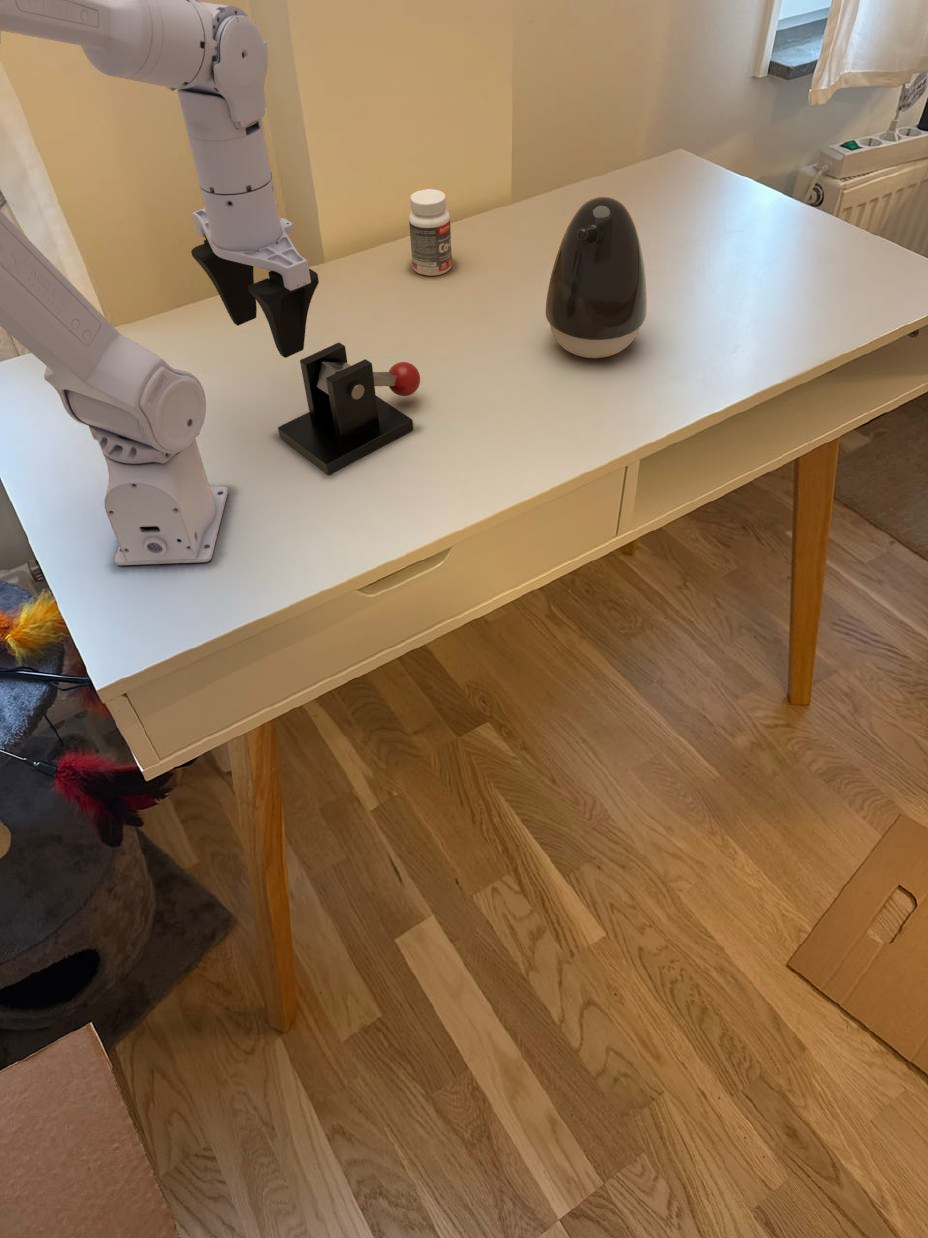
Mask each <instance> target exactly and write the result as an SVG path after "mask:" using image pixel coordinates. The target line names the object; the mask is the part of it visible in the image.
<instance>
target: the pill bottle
mask: <svg viewBox="0 0 928 1238" xmlns="http://www.w3.org/2000/svg"><path fill="white" fill-rule="evenodd" d="M446 197H447V196H446V194H445V193H444V192H443V191H441V190H438V189H433V188H429V189H428V188H426V189H421V190H417V191H414V192H413V193H412V194H411V195H410V197H409V203H410V205H409V206H410V209H411V212H410V214H409V215H408V225H409V236H410V237H409V238H410V250H411V264H412V269H413V270H414V272H415V273H417V274H419V275H423V276H429V277H435V276H440V275H443V274H446V273H448V272H449V271H450V270H451V269H452V266H453V257H452V256H453V255H452V233H451V231H452V230H451V216H450V215H451V214H450V213H449V211H448V210H447V199H446Z"/></svg>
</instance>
